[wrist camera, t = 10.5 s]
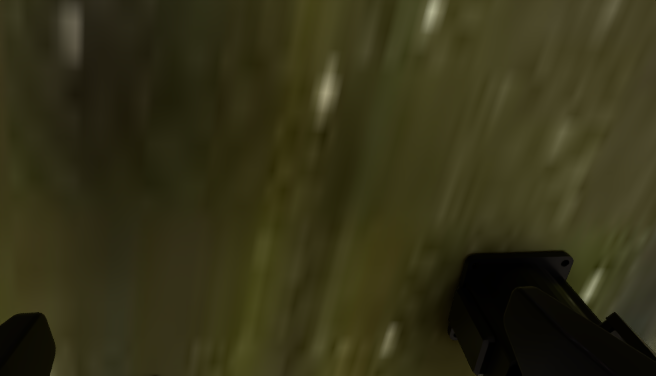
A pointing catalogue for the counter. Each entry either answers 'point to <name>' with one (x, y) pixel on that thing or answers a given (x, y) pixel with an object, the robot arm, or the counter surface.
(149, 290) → the counter surface
